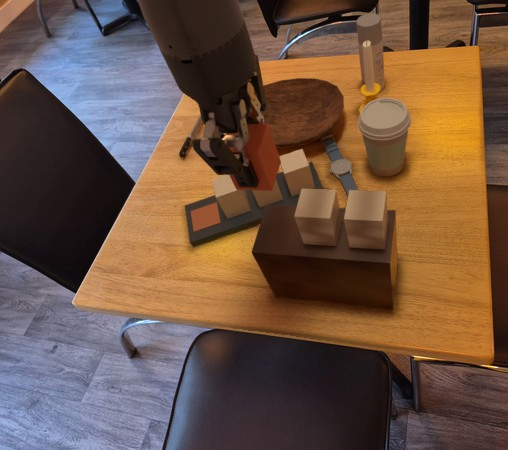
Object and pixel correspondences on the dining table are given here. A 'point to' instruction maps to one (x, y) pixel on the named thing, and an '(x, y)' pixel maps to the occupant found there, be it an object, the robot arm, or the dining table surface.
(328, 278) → the stand
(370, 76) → the candle
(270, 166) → the red-brown rectangular block
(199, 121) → the knife
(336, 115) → the bowl
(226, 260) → the dining table surface
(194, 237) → the far board
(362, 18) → the container
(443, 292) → the dining table surface
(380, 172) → the coffee cup
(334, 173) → the wristwatch
